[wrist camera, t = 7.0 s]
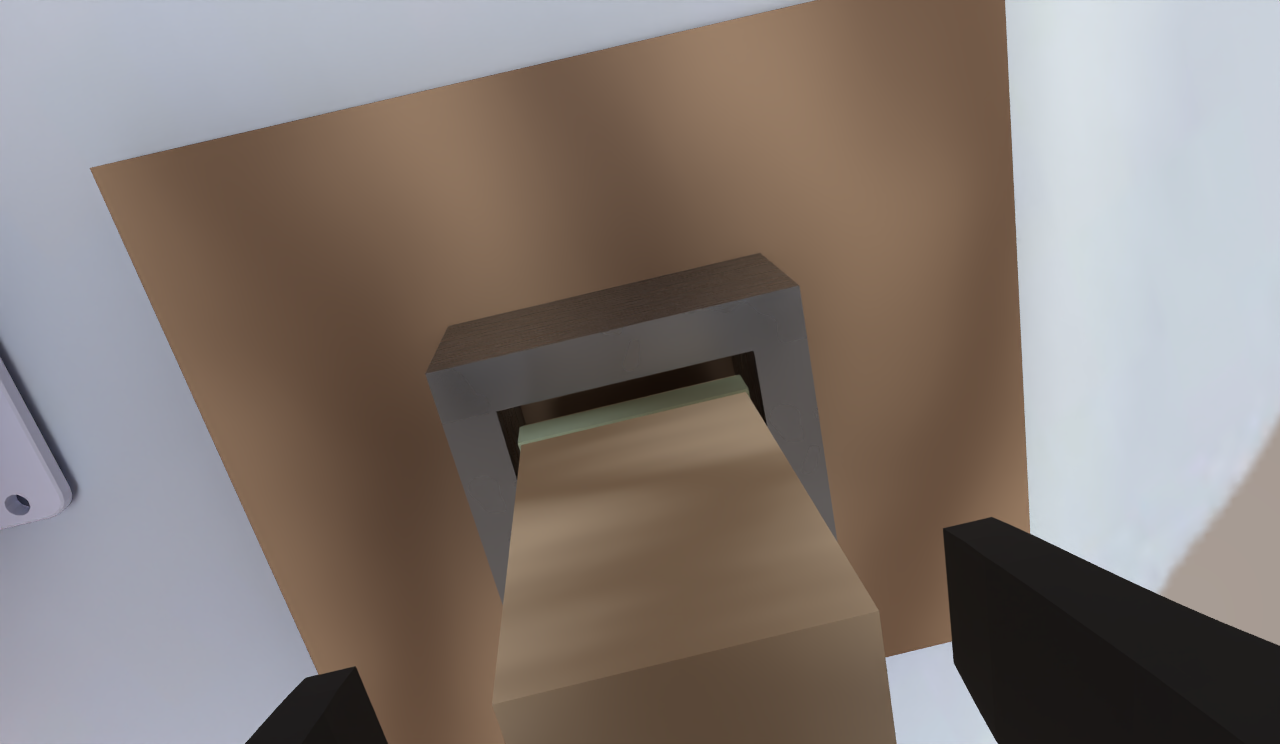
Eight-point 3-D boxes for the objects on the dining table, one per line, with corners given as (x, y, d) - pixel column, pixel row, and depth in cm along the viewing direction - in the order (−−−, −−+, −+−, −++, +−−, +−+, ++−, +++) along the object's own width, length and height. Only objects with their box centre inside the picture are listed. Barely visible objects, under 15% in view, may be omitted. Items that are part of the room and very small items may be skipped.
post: (574, 605, 16) (582, 969, 9) (520, 423, 14) (485, 701, 8) (772, 557, 16) (918, 886, 9) (738, 372, 15) (883, 605, 8)
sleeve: (536, 605, 19) (532, 693, 16) (447, 326, 17) (424, 373, 14) (806, 540, 19) (848, 616, 17) (760, 252, 17) (799, 285, 14)
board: (377, 747, 22) (367, 783, 21) (122, 162, 16) (89, 167, 15) (1010, 594, 22) (1034, 621, 21) (972, -35, 16) (1002, -43, 15)
